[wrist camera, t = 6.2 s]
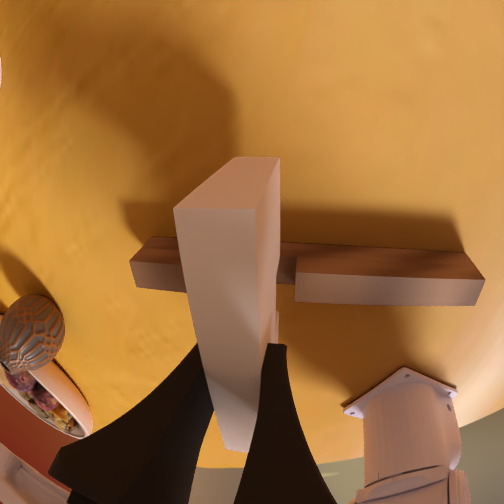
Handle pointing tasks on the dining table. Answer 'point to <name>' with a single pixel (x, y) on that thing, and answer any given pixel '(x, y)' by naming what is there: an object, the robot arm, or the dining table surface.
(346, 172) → the dining table surface
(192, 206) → the notched white slab
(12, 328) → the vase
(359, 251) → the walnut rail
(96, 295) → the dining table surface
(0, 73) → the teacup and saucer
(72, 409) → the bowl
